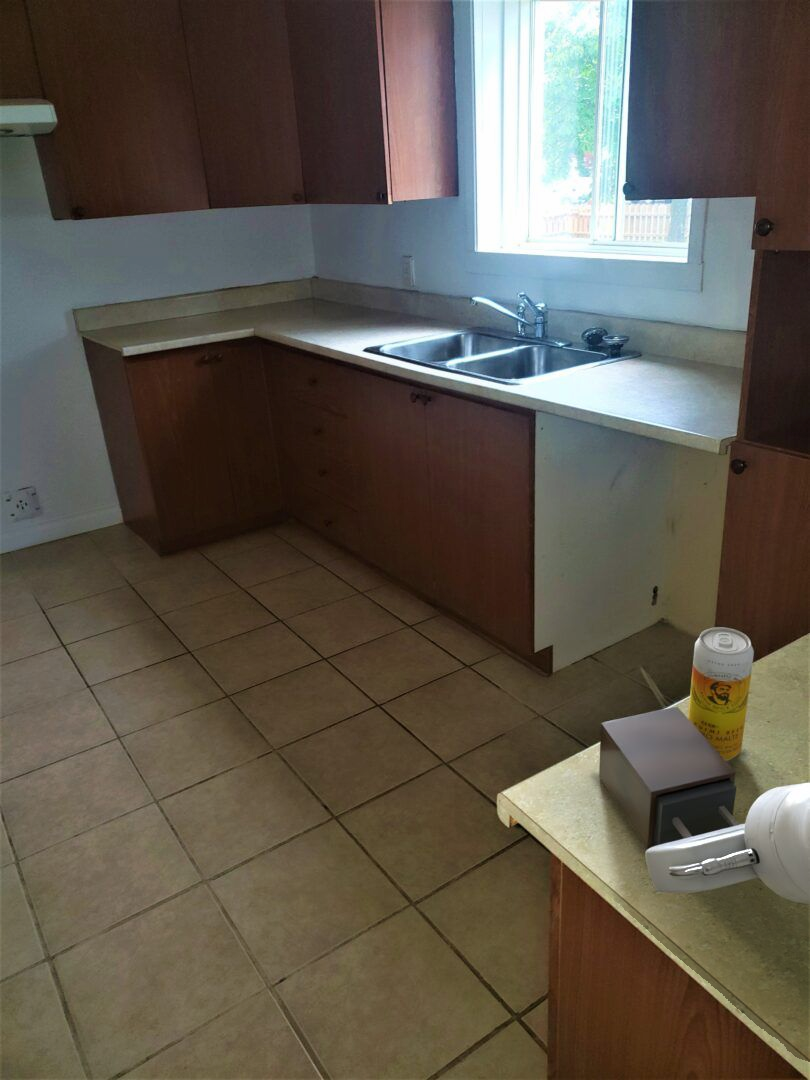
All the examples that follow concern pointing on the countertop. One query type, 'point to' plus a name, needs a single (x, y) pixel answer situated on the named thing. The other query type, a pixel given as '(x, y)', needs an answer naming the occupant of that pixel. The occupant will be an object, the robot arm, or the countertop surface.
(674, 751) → the cabinet
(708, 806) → the drawer
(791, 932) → the countertop surface
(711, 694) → the beer can
